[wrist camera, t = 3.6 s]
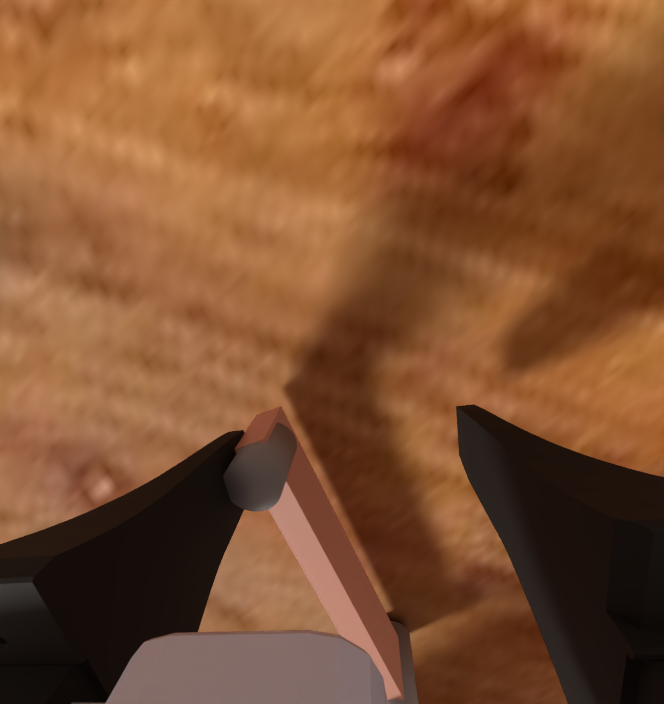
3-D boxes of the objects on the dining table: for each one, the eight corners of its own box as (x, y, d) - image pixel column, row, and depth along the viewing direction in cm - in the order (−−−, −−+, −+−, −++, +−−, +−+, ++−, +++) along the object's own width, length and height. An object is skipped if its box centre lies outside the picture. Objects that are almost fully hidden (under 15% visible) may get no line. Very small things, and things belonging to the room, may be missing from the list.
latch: (414, 642, 17) (430, 756, 13) (381, 648, 18) (386, 761, 14) (292, 396, 14) (265, 452, 10) (254, 410, 14) (211, 470, 10)
